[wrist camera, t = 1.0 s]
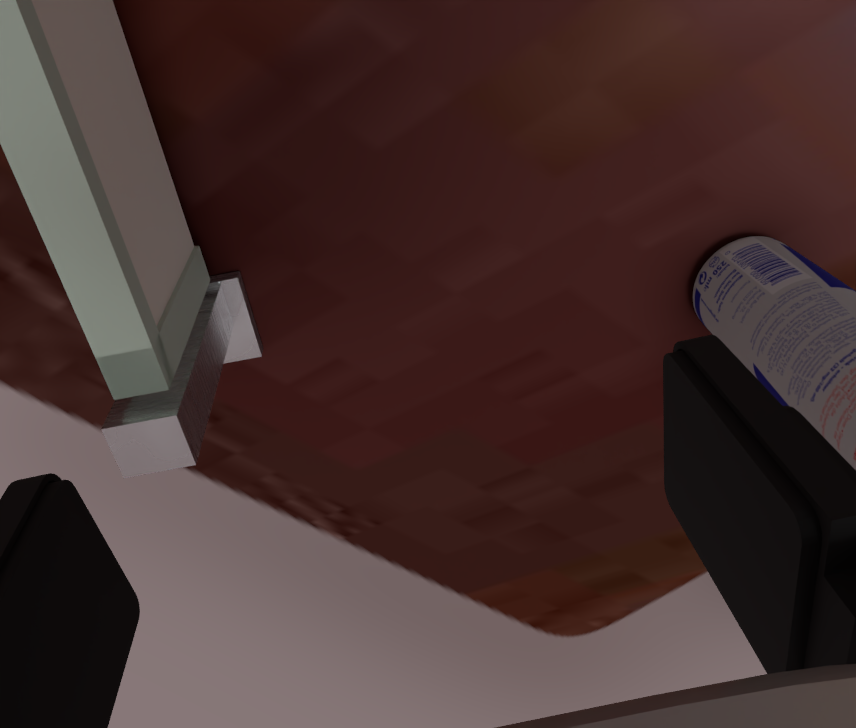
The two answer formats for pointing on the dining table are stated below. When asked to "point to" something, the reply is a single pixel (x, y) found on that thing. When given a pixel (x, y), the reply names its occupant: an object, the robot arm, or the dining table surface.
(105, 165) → the bar
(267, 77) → the dining table surface
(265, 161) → the dining table surface
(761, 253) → the beverage can
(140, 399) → the gate posts
